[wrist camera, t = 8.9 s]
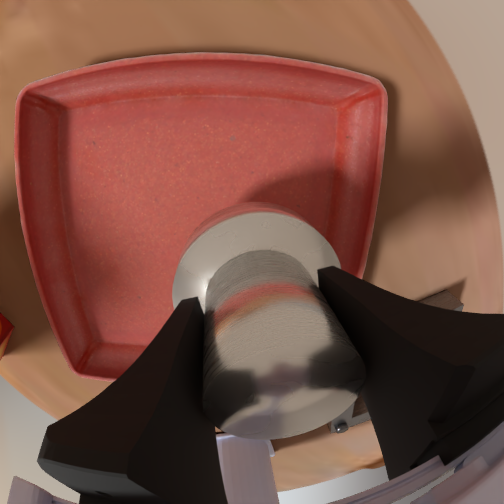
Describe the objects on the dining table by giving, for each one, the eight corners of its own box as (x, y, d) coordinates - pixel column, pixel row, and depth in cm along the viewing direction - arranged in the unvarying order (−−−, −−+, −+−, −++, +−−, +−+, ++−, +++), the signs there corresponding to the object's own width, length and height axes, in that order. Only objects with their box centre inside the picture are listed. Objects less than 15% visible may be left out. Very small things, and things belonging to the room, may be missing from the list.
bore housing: (323, 414, 24) (332, 437, 21) (323, 333, 19) (337, 362, 16) (421, 375, 24) (433, 393, 21) (446, 289, 19) (467, 307, 16)
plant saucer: (359, 87, 13) (392, 80, 10) (320, 347, 20) (334, 378, 17) (47, 92, 10) (15, 87, 7) (86, 346, 17) (73, 377, 14)
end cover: (209, 348, 14) (213, 466, 8) (154, 231, 11) (94, 342, 5) (334, 310, 14) (394, 412, 8) (311, 182, 11) (416, 244, 5)
